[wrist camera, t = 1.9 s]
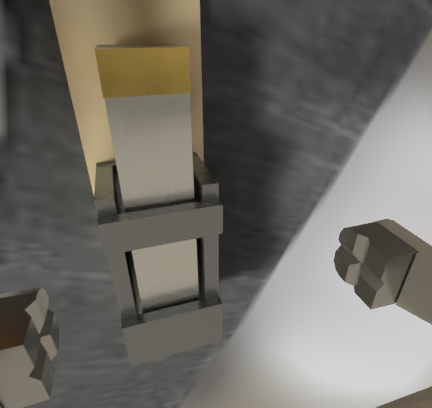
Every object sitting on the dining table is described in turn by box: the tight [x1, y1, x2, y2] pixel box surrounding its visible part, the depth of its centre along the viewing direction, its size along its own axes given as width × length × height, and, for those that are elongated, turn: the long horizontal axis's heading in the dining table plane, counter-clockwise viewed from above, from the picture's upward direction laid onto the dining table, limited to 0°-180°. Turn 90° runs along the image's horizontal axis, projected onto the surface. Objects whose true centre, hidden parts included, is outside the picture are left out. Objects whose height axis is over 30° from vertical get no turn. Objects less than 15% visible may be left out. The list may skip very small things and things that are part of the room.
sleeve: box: [94, 152, 223, 366], centre depth 22 cm, size 7×14×6 cm, turn 0°
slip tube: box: [95, 43, 199, 314], centre depth 20 cm, size 4×20×4 cm, turn 0°
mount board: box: [49, 0, 204, 194], centre depth 20 cm, size 8×34×1 cm, turn 0°
